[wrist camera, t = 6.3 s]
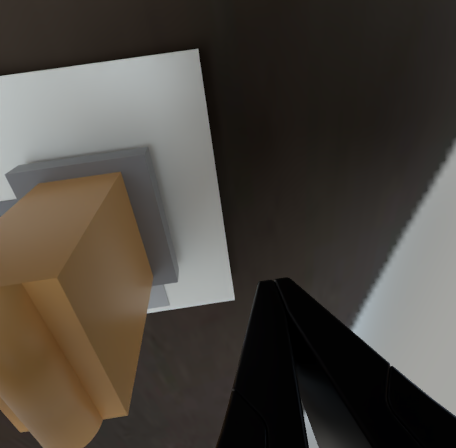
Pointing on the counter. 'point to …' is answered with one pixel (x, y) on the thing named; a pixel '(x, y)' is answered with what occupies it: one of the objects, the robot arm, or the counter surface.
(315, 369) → the robot arm
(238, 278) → the counter surface
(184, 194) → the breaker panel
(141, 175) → the toggle
